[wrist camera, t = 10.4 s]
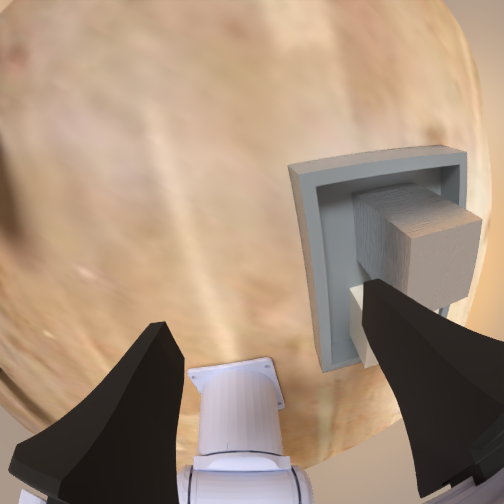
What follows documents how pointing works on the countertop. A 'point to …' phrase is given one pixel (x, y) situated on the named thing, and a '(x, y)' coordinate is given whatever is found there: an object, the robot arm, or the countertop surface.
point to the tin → (416, 242)
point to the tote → (343, 230)
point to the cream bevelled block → (360, 327)
